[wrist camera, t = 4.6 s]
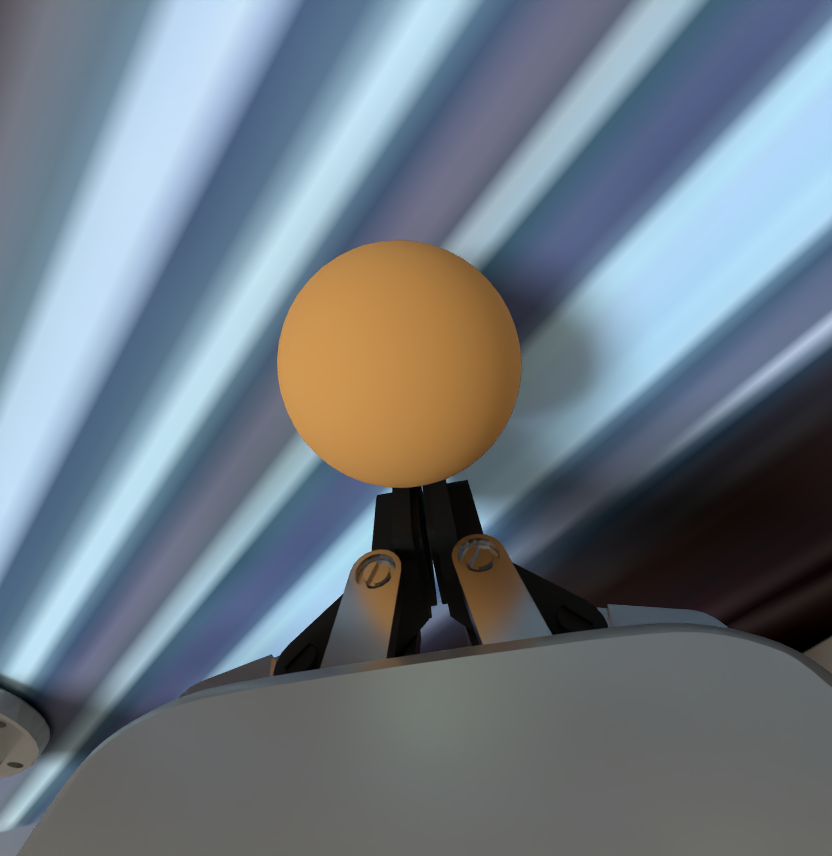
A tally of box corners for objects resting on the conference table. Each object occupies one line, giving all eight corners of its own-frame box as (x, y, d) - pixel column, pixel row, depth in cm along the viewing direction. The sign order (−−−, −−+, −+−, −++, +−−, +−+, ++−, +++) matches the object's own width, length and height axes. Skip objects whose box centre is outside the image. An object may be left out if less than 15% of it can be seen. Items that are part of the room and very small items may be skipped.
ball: (283, 562, 7) (182, 226, 5) (327, 453, 13) (286, 276, 11) (571, 511, 7) (574, 178, 5) (487, 427, 13) (474, 251, 11)
